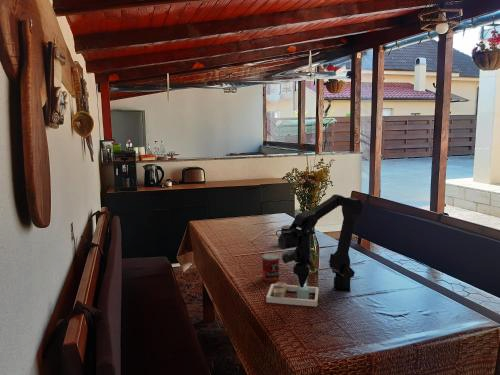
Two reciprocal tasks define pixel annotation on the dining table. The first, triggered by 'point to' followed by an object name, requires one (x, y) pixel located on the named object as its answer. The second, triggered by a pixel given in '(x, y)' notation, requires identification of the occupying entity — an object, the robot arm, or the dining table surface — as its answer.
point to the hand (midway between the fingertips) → (302, 282)
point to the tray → (292, 300)
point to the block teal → (302, 292)
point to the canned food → (271, 267)
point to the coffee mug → (284, 228)
